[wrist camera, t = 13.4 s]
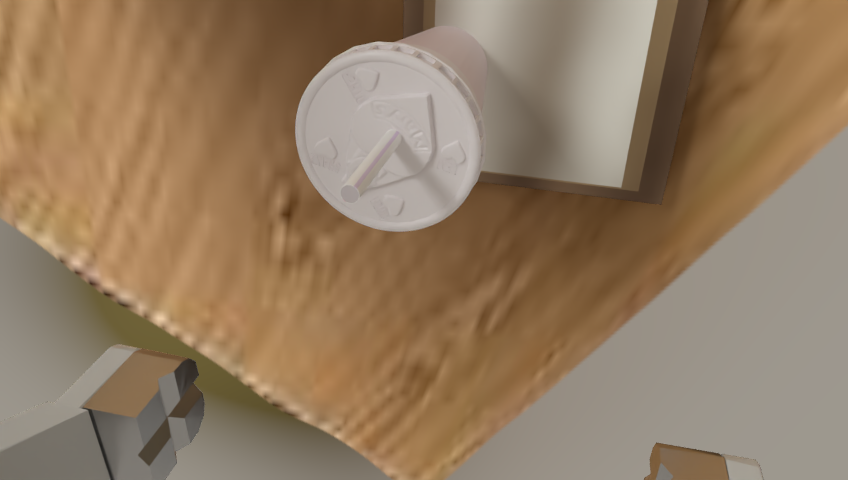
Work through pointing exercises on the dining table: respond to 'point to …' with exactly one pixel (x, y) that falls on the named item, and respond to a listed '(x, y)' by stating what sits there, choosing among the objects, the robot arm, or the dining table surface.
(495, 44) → the square stepped pedestal
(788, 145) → the dining table surface
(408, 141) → the smoothie
